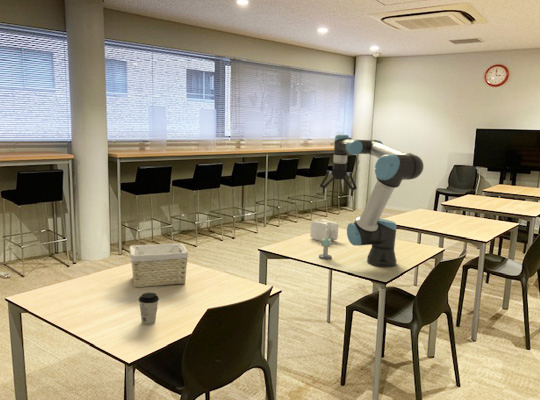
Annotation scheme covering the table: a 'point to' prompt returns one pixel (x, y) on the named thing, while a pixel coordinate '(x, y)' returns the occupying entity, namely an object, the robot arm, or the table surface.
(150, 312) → the coffee cup
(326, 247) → the post
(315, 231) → the cable organizer
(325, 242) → the sleeve
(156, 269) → the storage basket
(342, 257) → the table surface
